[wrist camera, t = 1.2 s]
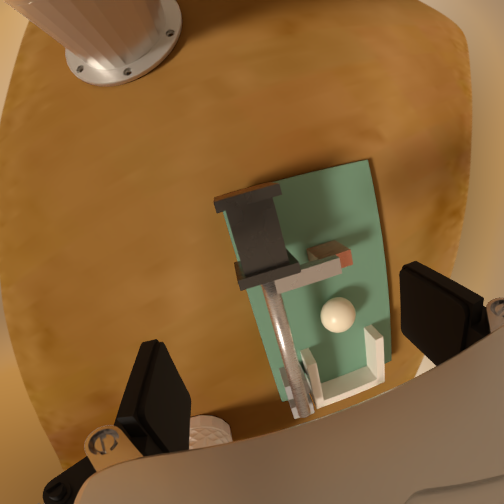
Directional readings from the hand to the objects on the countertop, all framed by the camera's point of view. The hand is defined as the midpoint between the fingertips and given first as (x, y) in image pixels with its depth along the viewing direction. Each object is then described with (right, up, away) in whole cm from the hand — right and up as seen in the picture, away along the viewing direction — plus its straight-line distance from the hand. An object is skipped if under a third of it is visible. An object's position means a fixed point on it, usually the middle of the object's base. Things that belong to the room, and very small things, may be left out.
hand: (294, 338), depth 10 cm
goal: (+9, -9, +23) cm, 26 cm away
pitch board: (+6, -1, +20) cm, 21 cm away
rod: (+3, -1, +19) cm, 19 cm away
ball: (+7, -3, +18) cm, 20 cm away
